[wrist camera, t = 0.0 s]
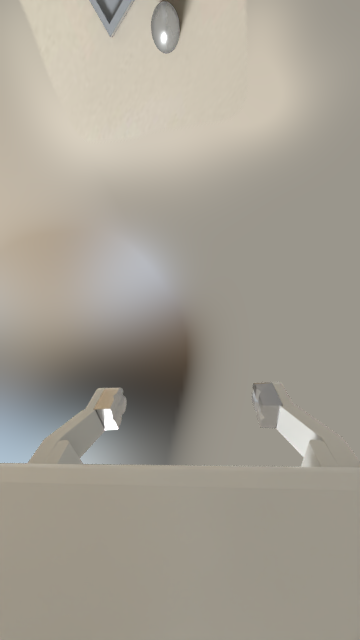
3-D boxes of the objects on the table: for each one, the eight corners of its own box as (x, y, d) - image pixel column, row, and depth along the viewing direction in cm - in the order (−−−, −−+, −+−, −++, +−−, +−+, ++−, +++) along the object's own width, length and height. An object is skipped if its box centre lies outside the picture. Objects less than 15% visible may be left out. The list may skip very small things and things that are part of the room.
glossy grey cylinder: (150, 25, 31) (145, 23, 26) (169, -3, 29) (167, -11, 24) (166, 59, 34) (163, 62, 29) (184, 35, 32) (185, 34, 27)
